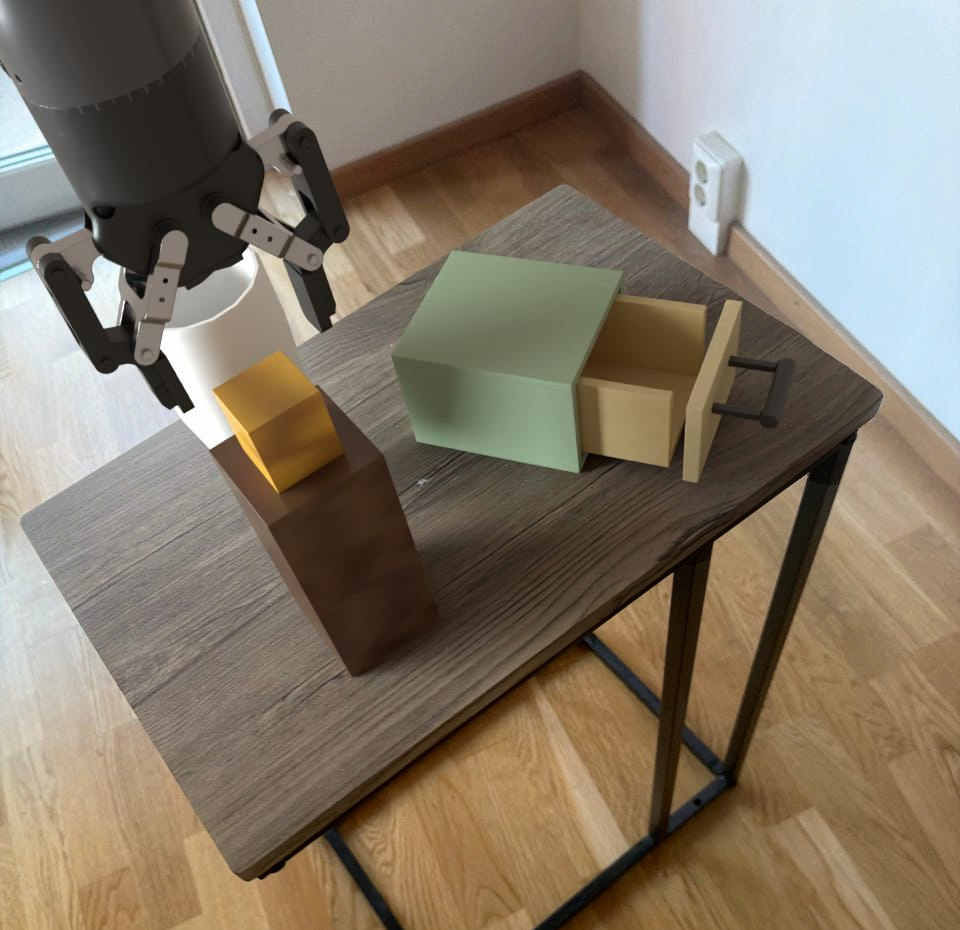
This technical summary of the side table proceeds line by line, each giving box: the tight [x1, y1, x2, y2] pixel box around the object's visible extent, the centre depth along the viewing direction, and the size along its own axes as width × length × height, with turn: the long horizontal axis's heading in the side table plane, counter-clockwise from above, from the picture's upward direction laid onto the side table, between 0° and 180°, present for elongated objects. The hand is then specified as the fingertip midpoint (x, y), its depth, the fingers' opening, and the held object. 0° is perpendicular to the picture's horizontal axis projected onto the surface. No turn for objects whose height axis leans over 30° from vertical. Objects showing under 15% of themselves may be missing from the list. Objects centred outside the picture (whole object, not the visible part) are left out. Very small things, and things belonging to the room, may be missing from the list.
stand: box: [208, 384, 441, 678], centre depth 63 cm, size 8×8×18 cm
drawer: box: [576, 294, 797, 484], centre depth 72 cm, size 18×11×8 cm, turn 68°
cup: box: [118, 246, 308, 449], centre depth 69 cm, size 10×10×22 cm
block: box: [212, 350, 344, 493], centre depth 54 cm, size 5×5×5 cm
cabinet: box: [390, 249, 625, 474], centre depth 76 cm, size 15×13×10 cm
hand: (252, 362), depth 50 cm, fingers open, 8 cm apart
